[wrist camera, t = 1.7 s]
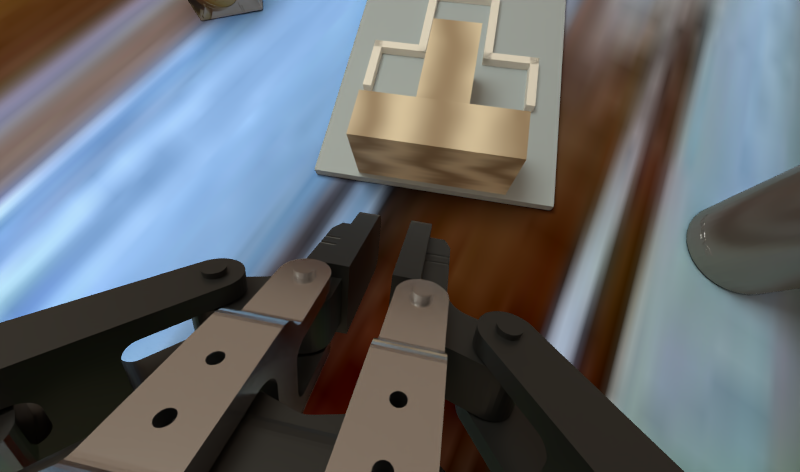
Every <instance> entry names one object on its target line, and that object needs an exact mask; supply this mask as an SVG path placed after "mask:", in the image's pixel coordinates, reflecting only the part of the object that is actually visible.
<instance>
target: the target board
mask: <svg viewBox="0 0 800 472" xmlns="http://www.w3.org/2000/svg"><path fill="white" fill-rule="evenodd" d="M565 4H566V0H367V3H366V6H365V9H364V12H363V16H362V19H361V22H360V25H359V29H358V32H357V35H356V38H355V41H354V45H353V48H352V51H351V54H350V57H349V61H348V64H347V67H346V70H345V74H344V77H343V80H342V83H341V86H340V90H339V93H338V96H337V99H336V102H335V106H334V109H333V112H332V115H331V119H330V122H329V125H328V128H327V131H326V135H325V138H324V141H323V144H322V147H321V151H320V154H319V157H318V160H317V163H316V167H315V171H316V173H317V174H321V175H327V176H334V177H340V178H347V179H353V180H359V181H366V182H372V183H378V184H385V185H391V186H397V187H404V188H410V189H416V190H423V191H429V192H435V193H442V194H448V195H454V196H461V197H467V198H473V199H480V200H486V201H492V202H499V203H505V204H511V205H518V206H524V207H530V208H537V209H543V210H551V209H552V208H553V207H554V193H555V176H556V159H557V142H558V125H559V107H560V90H561V73H562V56H563V39H564V21H565ZM433 18H437V19H446V20H456V21H466V22H476V23H482V29H481V36H480V42H479V48H478V54H477V61H476V67H475V73H474V79H473V86H472V92H471V98H470V104H476V105H484V106H492V107H499V108H507V109H515V110H523V111H531V115H530V126H529V137H528V148H527V159H526V161H525V163H524V164H523V166H522V168H521V169H520V171H519V173H518V175H517V176H516V178H515V180H514V181H513V183H512V185H511V186H510V188H509V190H508V191H507V193H506V195H503V194H496V193H490V192H483V191H477V190H470V189H464V188H457V187H451V186H444V185H438V184H432V183H425V182H419V181H412V180H406V179H399V178H393V177H386V176H380V175H373V174H367V173H361V172H359V171H358V168H357V165H356V162H355V159H354V156H353V153H352V150H351V147H350V144H349V140H348V137H347V134H346V133H347V129H348V126H349V122H350V119H351V116H352V112H353V109H354V105H355V102H356V98H357V95H358V91H359V90H367V91H375V92H382V93H390V94H398V95H406V96H414V97H416V95H417V90H418V85H419V81H420V76H421V72H422V67H423V63H424V58H425V54H426V49H427V45H428V40H429V36H430V31H431V27H432V22H433Z"/></svg>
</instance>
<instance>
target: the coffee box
mask: <svg viewBox="0 0 800 472" xmlns="http://www.w3.org/2000/svg"><path fill="white" fill-rule="evenodd" d="M188 1H189V3H190V4H191V6H192V7H193V9H194V10H195V12H196V13H197V15H198V17H199V18H200V20H202V21H203V20H208V19H214V18H219V17H225V16H230V15H236V14H241V13H247V12H252V11H257V10H262V9H263V6H262V0H188Z"/></svg>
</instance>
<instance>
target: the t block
mask: <svg viewBox="0 0 800 472" xmlns="http://www.w3.org/2000/svg"><path fill="white" fill-rule="evenodd" d="M481 29H482V23H476V22H466V21H456V20H446V19H437V18H433V22H432V27H431V31H430V36H429V40H428V45H427V49H426V54H425V58H424V63H423V67H422V72H421V76H420V81H419V85H418V90H417V95H416V97H414V96H406V95H398V94H390V93H382V92H375V91H367V90H359V91H358V95H357V98H356V102H355V105H354V109H353V112H352V116H351V119H350V122H349V126H348V129H347V133H346V134H347V137H348V140H349V144H350V147H351V150H352V153H353V156H354V159H355V162H356V165H357V168H358V171H359V172H361V173H367V174H373V175H380V176H386V177H393V178H399V179H406V180H412V181H419V182H425V183H432V184H438V185H444V186H451V187H457V188H464V189H470V190H477V191H483V192H490V193H496V194H503V195H506V193H507V191H508V190H509V188H510V186H511V185H512V183H513V181H514V180H515V178H516V176H517V175H518V173H519V171H520V169H521V168H522V166H523V164H524V163H525V161H526V159H527V148H528V137H529V126H530V115H531V111H523V110H515V109H507V108H499V107H492V106H484V105H476V104H470V98H471V92H472V86H473V79H474V73H475V67H476V61H477V54H478V48H479V42H480V36H481Z"/></svg>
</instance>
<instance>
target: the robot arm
mask: <svg viewBox="0 0 800 472" xmlns="http://www.w3.org/2000/svg"><path fill="white" fill-rule="evenodd" d="M431 227H432V224H428V223H422V222H416V221H411V223H410V226H409V229H408V232H407V235H406V238H405V241H404V244H403V246H402V249H401V252H400V255H399V258H398V261H397V264H396V267H395V269H394V272H393V276H392V285H391V293H390V302H389V309H388V312H387V315H386V318H385V321H384V324H383V327H382V330H381V333H380V335H379V338H374V339H373V341H372V343H371V345H370V348H369V351H368V354H367V356H366V359H365V362H364V365H363V367H362V370H361V373H360V376H359V379H358V381H357V384H356V387H355V390H354V392H353V395H352V398H351V401H350V404H349V406H348V409H347V412H346V414H338V415H305V414H303V411H304V408H305V405H306V403H307V401H308V399H309V397H310V394H311V392H312V390H313V388H314V386H315V383H316V381H317V379H318V377H319V375H320V372H321V370H322V368H323V366H324V364H325V362H326V359H327V357H328V355H329V353H330V348H331V340H332V338H333V336H334V334H335V332H341V333H346V334H347V332H348V329H349V327H350V325H351V323H352V320H353V318H354V316H355V314H356V311H357V309H358V307H359V305H360V302H361V300H362V298H363V296H364V294H365V291H366V289H367V287H368V285H369V282H370V280H371V278H372V276H373V273H374V271H375V268H376V264H377V259H378V251H379V240H380V228H381V216H380V215H374V214H368V213H362V212H360V213H359V214H358V215H357V216H356V218H355V219H354V221H353V222H352V223H351V224H348V223H342V224H340V225H337V226H335V227H333V228H332V229H331V230H330V231H329V232H328V234H327V235H326V236H325V237H324V238H323V240H322V241H321V242H320V243H319V244H318V246H317V247H316V248H315V249H314V250H313V251H312V253H311V254H310V255H309V256H308V257H307V259H297V260H293V261H290V262H287V263H285V264H284V265H282V266H281V267H280V268H279V269H278V270H277V271H276V272H275V273H274V275H273V276H269V277H246V272H245V267H244V265H243V264H242V263H241V262H239V261H237V260H233V259H225V258H221V259H212V260H207V261H203V262H200V263H196V264H193V265H190V266H187V267H183V268H180V269H177V270H173V271H170V272H167V273H163V274H160V275H157V276H154V277H150V278H147V279H144V280H140V281H137V282H134V283H130V284H127V285H124V286H120V287H117V288H114V289H111V290H107V291H104V292H101V293H97V294H94V295H91V296H87V297H84V298H81V299H78V300H74V301H71V302H68V303H64V304H61V305H58V306H54V307H51V308H48V309H44V310H41V311H38V312H35V313H31V314H28V315H25V316H21V317H18V318H15V319H11V320H8V321H5V322H1V323H0V472H445V471H444V470H443V469H442V467H440V453H441V440H442V426H443V412H444V399H446V400H448V401H450V402H452V403H454V404H455V407H456V412H457V415H458V417H459V419H460V420H461V422H462V424H463V425H464V427H465V429H466V430H467V432H468V434H469V435H470V437H471V439H472V440H473V442H474V444H475V445H476V447H477V449H478V451H479V452H480V454H481V456H482V457H483V459H484V461H485V462H486V464H487V466H488V467H489V469H490V471H491V472H684V471H683V470H682V469H681V468H680V467H679V466H678V465H677V464H676V463H675V462H674V461H673V460H671V459H670V458H669V457H668V456H667V455H666V454H665V453H664V452H663V451H662V450H661V449H660V448H659V447H658V446H657V445H656V444H655V443H654V442H653V441H652V440H651V439H649V438H648V437H647V436H646V435H645V434H644V433H643V432H642V431H641V430H640V429H639V428H638V427H637V426H636V425H635V424H634V423H633V422H632V421H631V420H630V419H629V418H627V417H626V416H625V415H624V414H623V413H622V412H621V411H620V410H619V409H618V408H617V407H616V406H615V405H614V404H613V403H612V402H611V401H610V400H609V399H608V398H607V397H605V396H604V395H603V394H602V393H601V392H600V391H599V390H598V389H597V388H596V387H595V386H594V385H593V384H592V383H591V382H590V381H589V380H588V379H587V378H586V377H585V376H583V375H582V374H581V373H580V372H579V371H578V370H577V369H576V368H575V367H574V366H573V365H572V364H571V363H570V362H569V361H568V360H567V359H566V358H565V357H564V356H563V355H561V354H560V353H559V352H558V351H557V350H556V349H555V348H554V347H553V346H552V345H551V344H550V343H549V342H548V341H547V340H546V339H545V338H544V337H543V336H542V335H541V334H539V333H538V332H537V331H536V330H535V329H534V328H533V327H532V326H531V325H530V324H529V323H528V322H526V321H525V320H523V319H521V318H520V317H518V316H515V315H513V314H510V313H506V312H499V311H494V312H488V313H485V314H484V315H482V316H481V317H480V318H479V320H477V319H475V318H473V317H470V316H468V315H466V314H464V313H462V312H461V311H459V310H458V309H456V308H455V307H454V306H453V305H452V304H451V302H450V301H449V296H448V294H447V285H448V271H449V257H450V248H449V246H448V245H447V243H446V242H445V240H440V239H435V238H430V233H431ZM687 245H688V250H689V252H690V255H691V257H692V259H693V261H694V262H695V264H696V265H697V267H698V268H699V269H700V270H701V271H702V272H703V273H704V275H705V276H706V277H708V278H709V279H710V280H712V281H713V282H714V283H716V284H717V285H719V286H721V287H723V288H725V289H727V290H730V291H733V292H736V293H741V294H747V295H753V294H764V293H771V292H777V291H784V290H791V289H797V288H800V165H798V166H796V167H794V168H792V169H790V170H788V171H786V172H783V173H781V174H779V175H777V176H775V177H773V178H771V179H769V180H766V181H764V182H762V183H760V184H758V185H756V186H754V187H751V188H749V189H747V190H745V191H743V192H741V193H738V194H736V195H734V196H732V197H730V198H728V199H726V200H724V201H722V202H720V203H718V204H715V205H713V206H711V207H709V208H707V209H705V210H703V211H701V212H699V213H698V214H697V215H696V216H695V217H694V218H693V219H692V221H691V222H690V224H689V227H688V230H687ZM191 318H192V321H193V325H194V329H195V331H194V332H193V333H192V334H191V335H190V336H189V337H188V338H187V339H186V340H184V341H182V342H180V343H178V344H175V345H173V346H171V347H168V348H166V349H164V350H162V351H159V352H157V353H155V354H152V355H150V356H148V357H146V358H143V359H141V360H138V361H135V362H125V361H122V360H121V356H122V353H123V351H124V350H125V349H126V348H127V347H128V346H129V345H130V344H132V343H133V342H135V341H137V340H139V339H142V338H144V337H147V336H149V335H152V334H154V333H157V332H159V331H162V330H164V329H167V328H169V327H172V326H174V325H177V324H179V323H182V322H184V321H186V320H189V319H191Z"/></svg>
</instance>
